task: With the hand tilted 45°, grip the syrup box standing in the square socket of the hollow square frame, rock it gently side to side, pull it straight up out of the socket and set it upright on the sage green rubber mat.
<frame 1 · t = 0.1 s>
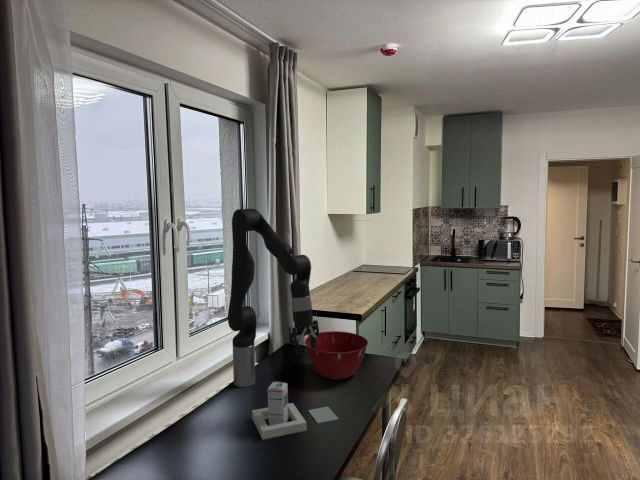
hand: (306, 351, 169), 22 cm above the table, tool pointing down, fingers open, 8 cm apart
rubber mat: (323, 415, 166), on the table
syrup box: (278, 424, 160), resting in hollow square frame
hollow square frame: (278, 424, 160), on the table
mixing bowl: (336, 374, 204), on the table
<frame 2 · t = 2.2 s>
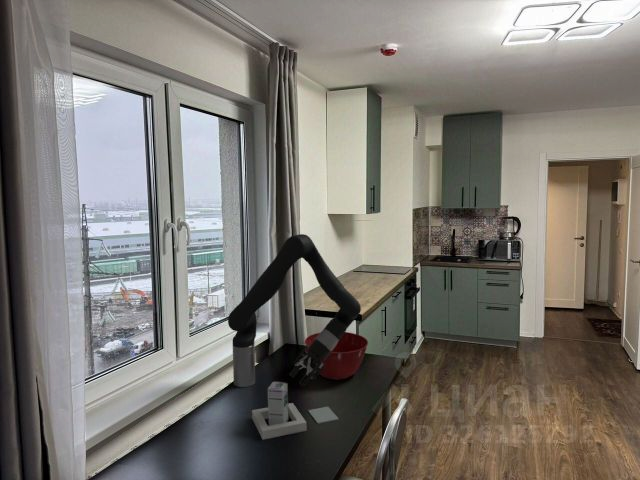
hand: (295, 380, 162), 15 cm above the table, tool tilted 45°, fingers open, 8 cm apart
nothing on the table moved.
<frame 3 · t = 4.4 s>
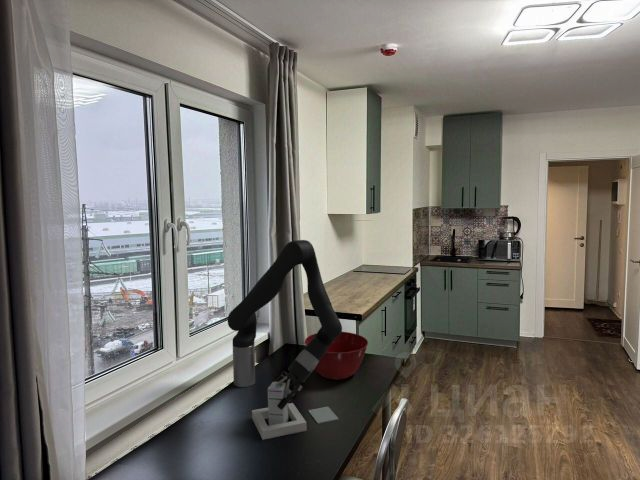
hand: (274, 403, 158), 8 cm above the table, tool tilted 45°, fingers closed on syrup box, 8 cm apart
syrup box: (278, 424, 160), resting in hollow square frame, touching gripper
everything else where it was.
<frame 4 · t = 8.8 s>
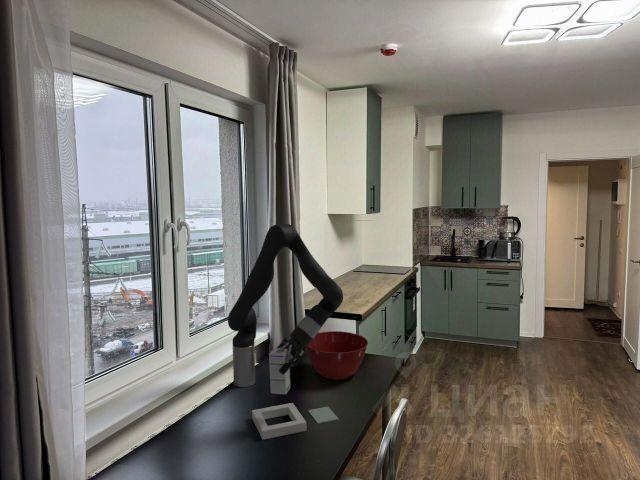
hand: (276, 368, 157), 20 cm above the table, tool tilted 45°, fingers closed on syrup box, 8 cm apart
syrup box: (280, 391, 159), point 12 cm above the table, touching gripper
everything else where it was.
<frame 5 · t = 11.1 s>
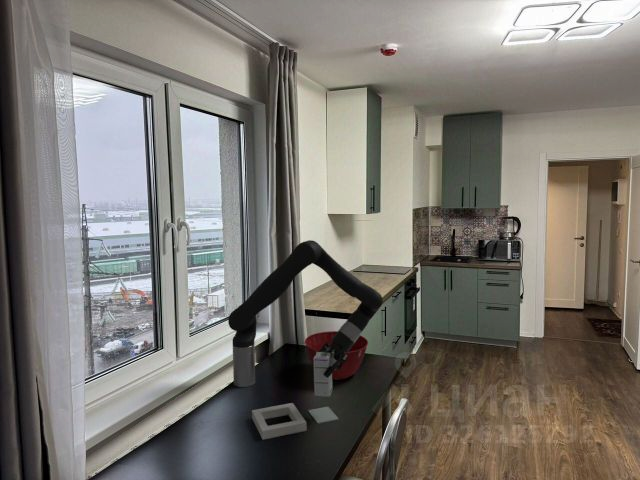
hand: (319, 372, 164), 17 cm above the table, tool tilted 45°, fingers closed on syrup box, 8 cm apart
syrup box: (323, 393, 165), point 8 cm above the table, touching gripper
everything else where it was.
when the fingers open (10 cm above the table, at t = 13.3 s): syrup box drops 1 cm, resting on rubber mat.
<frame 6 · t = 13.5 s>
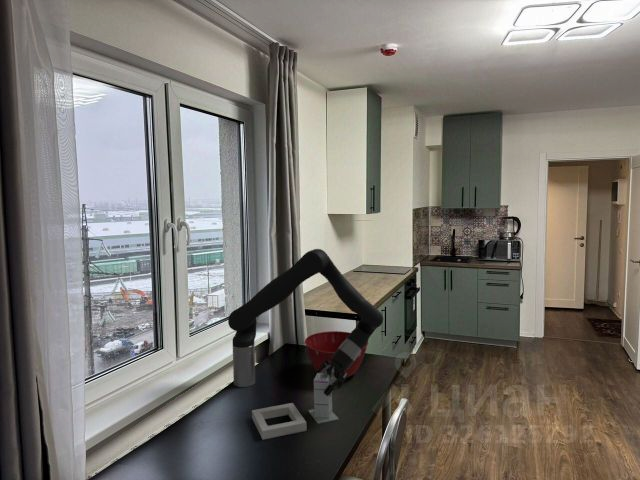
hand: (319, 390, 164), 10 cm above the table, tool tilted 45°, fingers open, 8 cm apart
syrup box: (323, 414, 166), resting on rubber mat, touching gripper
everything else where it was.
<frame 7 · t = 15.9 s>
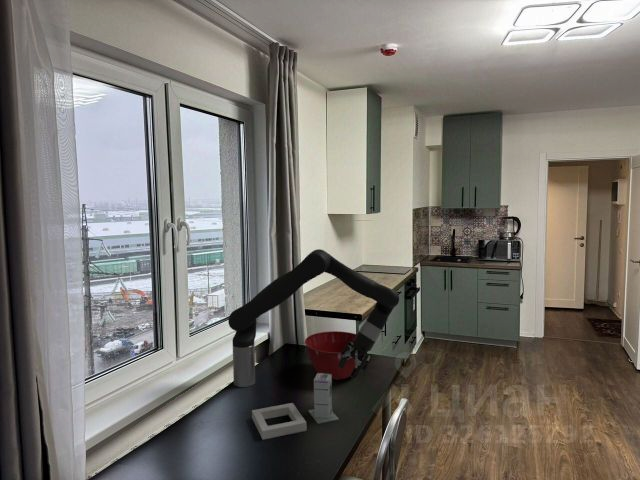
hand: (345, 372, 172), 13 cm above the table, tool tilted 35°, fingers open, 8 cm apart
syrup box: (323, 414, 166), resting on rubber mat
everything else where it was.
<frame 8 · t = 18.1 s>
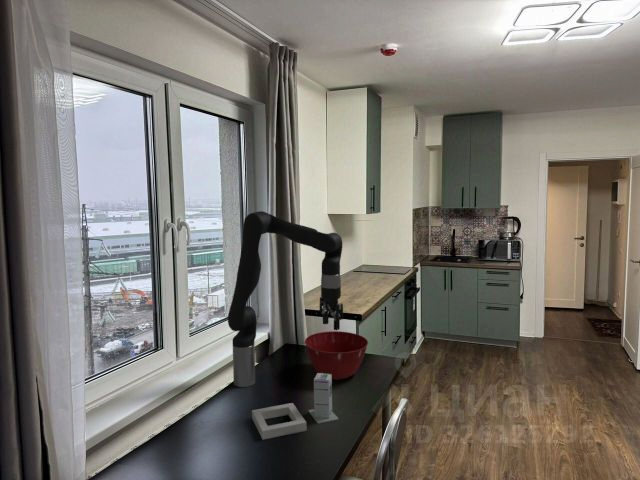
hand: (331, 326, 174), 30 cm above the table, tool pointing down, fingers open, 8 cm apart
nothing on the table moved.
at the end: syrup box inside the target area on the rubber mat (0.2 cm from its centre), point 0.2 cm above the rubber mat's base; syrup box tilted 0°; the gripper is holding nothing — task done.
